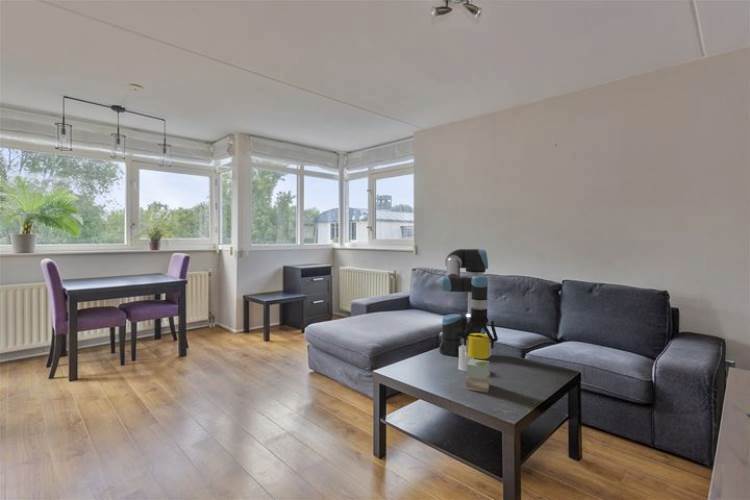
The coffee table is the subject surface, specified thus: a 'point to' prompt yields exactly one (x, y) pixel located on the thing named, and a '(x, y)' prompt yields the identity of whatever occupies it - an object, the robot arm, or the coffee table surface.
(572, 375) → the coffee table surface
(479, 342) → the yellow hollow cylinder
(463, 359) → the mug
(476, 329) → the robot arm
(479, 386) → the base block
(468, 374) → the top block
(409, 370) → the coffee table surface
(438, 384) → the coffee table surface
